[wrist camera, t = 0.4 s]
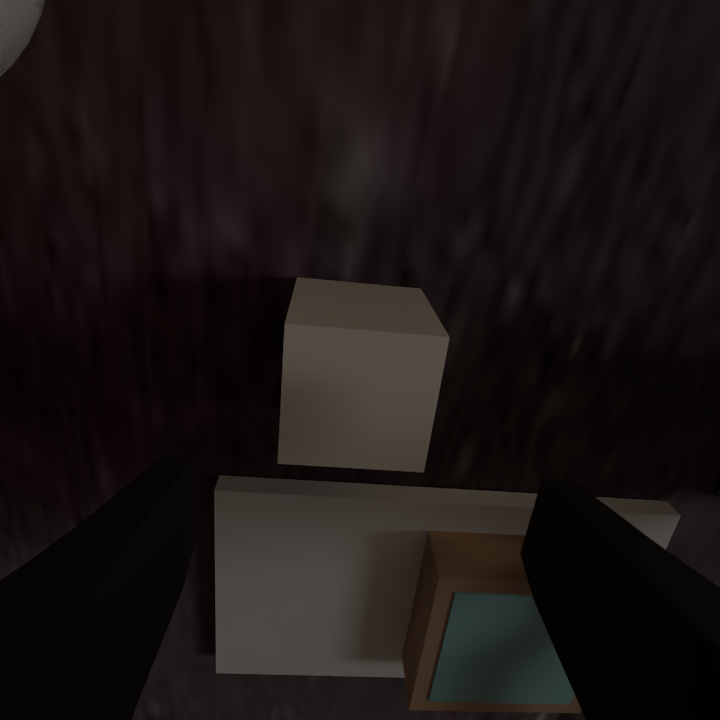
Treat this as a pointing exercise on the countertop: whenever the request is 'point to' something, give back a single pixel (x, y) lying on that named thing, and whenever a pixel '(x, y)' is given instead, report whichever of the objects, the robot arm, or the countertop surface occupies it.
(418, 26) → the countertop surface
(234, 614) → the baseplate
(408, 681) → the walnut block
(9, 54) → the lidded jar
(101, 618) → the robot arm
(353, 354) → the cream block
